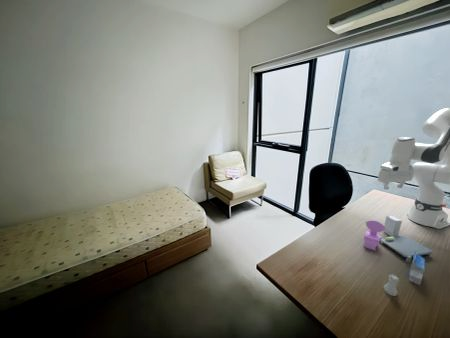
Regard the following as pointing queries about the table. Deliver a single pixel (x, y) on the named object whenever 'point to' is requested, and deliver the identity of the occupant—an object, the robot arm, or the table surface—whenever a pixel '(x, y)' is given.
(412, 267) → the label tape box
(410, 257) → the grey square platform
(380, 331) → the table surface
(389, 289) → the rook chess piece
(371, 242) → the toy chair
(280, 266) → the table surface
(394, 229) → the skincare box
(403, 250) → the levelling deck
